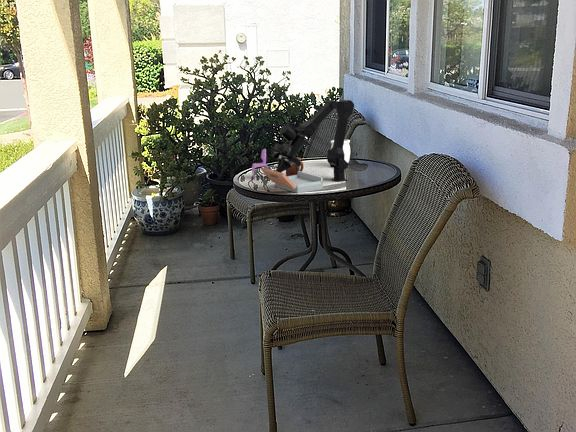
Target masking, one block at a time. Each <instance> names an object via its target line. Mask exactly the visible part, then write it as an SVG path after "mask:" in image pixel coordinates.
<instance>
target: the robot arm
mask: <svg viewBox="0 0 576 432" xmlns="http://www.w3.org/2000/svg"><path fill="white" fill-rule="evenodd" d="M334 110H336V114H337V115H336V116H337V123H336V129H335V132H334V133H335V135H334V139H333V140H334V144H333V147H332V149H331V148H330V149H327V155H326V161H327V162H328V164H329V167H330V168H333V177H332V178H331V180H333V181H334V182H342V181H344V182H345V181H346V182H347V181H348V178H346V169H349V167H348V166H349V165H350V164H349V163H347V162H346V161H345V160H344V156H345V154H344V151H343V145H344V139H345V138H346V133H347V127H348V122H349V119H350V117H351V116H352V115H353V112H354V110H355V103H354V102H353V100H350V99H339V101H337V100H333V99H330V100H327V101H326V102H325V103H324V105H323V106H322V107H321V108H319V109H318V110H317V112H316V113H315V114H314V115H312V117H311V118H309V119H308V120H306V121H303V122H302V123H301V124H300V125H299V126H298V127H294V126H293V124H292V123H291V122H286V124H284V125H283V126H281V127H280V129H279V134H280V135H281V137H283V139H285V140H286V141H287V142H290V143H289V144H288V143H283V144H280V143H275V144H274V148H273V152H272V153H271V154H270V155H271V157H272V158H273V159H274V160H276V162H277V166H276V169H275V171H277V172H280V173H283V172H284V171H286V169H288V168H290V167H292V166H291V165H292V163H294V164H295V166H296V167H298V168H299V167H300V168H301V160H299V159H298V158H299V157H298V158H297V155H298V156H299V155H300V154H301V153H300V151H301V149H302V148H303V147H304V145H306V146H309V144H310V143H309V139H308V138H312V137H313V136H314V135H315V134H316V132H317V129H318V127H319V125H320V124H321V123H322V122H323V121H324V120H325V119H326V118H327V117H328V116H329V115H330V114H331V113H332V112H333V111H334Z"/></svg>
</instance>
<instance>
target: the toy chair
mask: <svg viewBox="0 0 576 432" xmlns="http://www.w3.org/2000/svg"><path fill="white" fill-rule="evenodd" d="M260 155H261V156H260V158H261V160H262V162H257V163H255V162H254V163H252V166H251V174H252V178H253V179H254V180H255V179H256V176H255V169H256V168H260V167H261V168H262V167H265V168H266V169H269V167H268V164H267V149H266V148H263V149H262V150H261V154H260Z"/></svg>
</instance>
